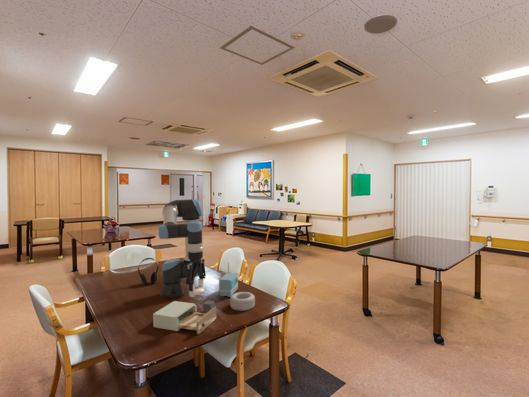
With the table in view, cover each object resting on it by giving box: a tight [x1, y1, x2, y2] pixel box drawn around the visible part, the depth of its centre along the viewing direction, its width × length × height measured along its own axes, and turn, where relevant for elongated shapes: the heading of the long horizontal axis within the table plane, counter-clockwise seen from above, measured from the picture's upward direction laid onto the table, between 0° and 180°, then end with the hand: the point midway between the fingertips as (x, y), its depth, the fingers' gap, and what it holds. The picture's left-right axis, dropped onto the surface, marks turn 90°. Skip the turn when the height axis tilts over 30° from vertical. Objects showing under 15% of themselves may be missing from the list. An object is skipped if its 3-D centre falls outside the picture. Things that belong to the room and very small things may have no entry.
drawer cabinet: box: [152, 300, 198, 332], centre depth 157 cm, size 15×18×7 cm
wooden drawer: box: [179, 306, 217, 335], centre depth 153 cm, size 16×18×6 cm
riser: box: [202, 300, 216, 314], centre depth 168 cm, size 5×5×6 cm
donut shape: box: [229, 291, 256, 312], centre depth 176 cm, size 15×15×7 cm
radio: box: [218, 261, 239, 298], centre depth 197 cm, size 16×9×20 cm, turn 168°
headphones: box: [137, 257, 159, 286], centre depth 220 cm, size 9×15×20 cm, turn 123°
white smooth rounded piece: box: [194, 286, 205, 296], centre depth 152 cm, size 8×8×2 cm
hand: (196, 293), depth 152 cm, fingers closed on white smooth rounded piece, 8 cm apart
